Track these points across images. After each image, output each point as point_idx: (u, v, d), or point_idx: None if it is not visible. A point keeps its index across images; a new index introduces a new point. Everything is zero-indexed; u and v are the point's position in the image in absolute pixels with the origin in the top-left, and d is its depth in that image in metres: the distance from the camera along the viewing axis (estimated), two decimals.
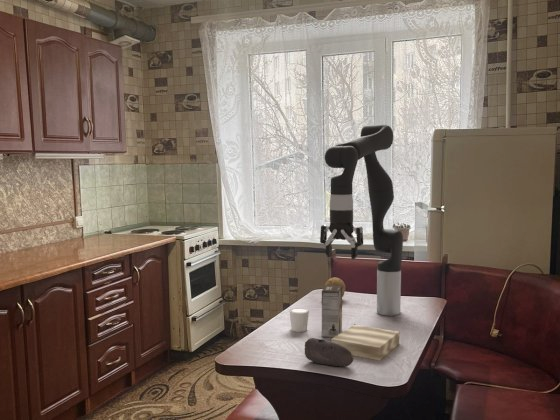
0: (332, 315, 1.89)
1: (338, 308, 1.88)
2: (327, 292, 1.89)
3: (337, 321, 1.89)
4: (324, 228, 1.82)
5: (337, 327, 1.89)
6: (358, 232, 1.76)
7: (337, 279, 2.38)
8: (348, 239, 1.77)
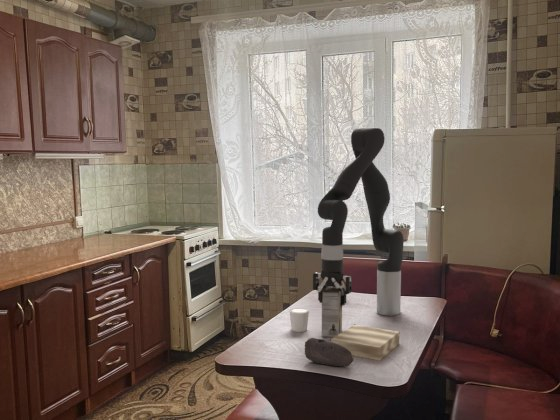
0: (332, 315, 1.89)
1: (338, 308, 1.88)
2: (327, 292, 1.89)
3: (337, 321, 1.89)
4: (316, 275, 1.95)
5: (337, 327, 1.89)
6: (347, 281, 1.88)
7: None
8: (338, 287, 1.90)
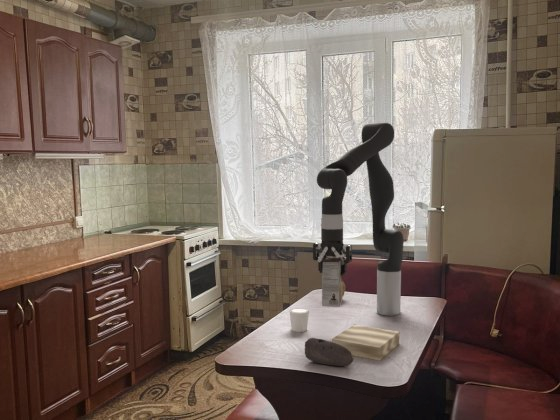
0: (332, 285, 1.88)
1: (338, 277, 1.88)
2: (327, 261, 1.88)
3: (337, 291, 1.88)
4: (316, 246, 1.94)
5: (337, 297, 1.88)
6: (347, 250, 1.87)
7: None
8: (338, 256, 1.89)
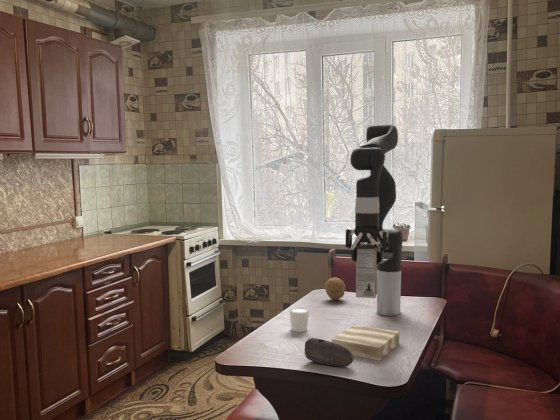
0: (367, 274, 1.73)
1: (374, 266, 1.72)
2: (362, 248, 1.72)
3: (373, 280, 1.72)
4: (349, 232, 1.78)
5: (373, 287, 1.73)
6: (384, 236, 1.72)
7: (337, 279, 2.38)
8: (374, 243, 1.73)
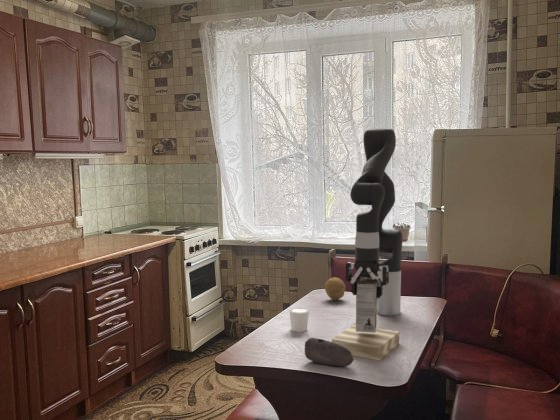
0: (367, 308, 1.73)
1: (374, 301, 1.73)
2: (362, 283, 1.73)
3: (373, 315, 1.73)
4: (349, 266, 1.79)
5: (373, 321, 1.74)
6: (384, 271, 1.73)
7: (337, 279, 2.38)
8: (374, 278, 1.74)
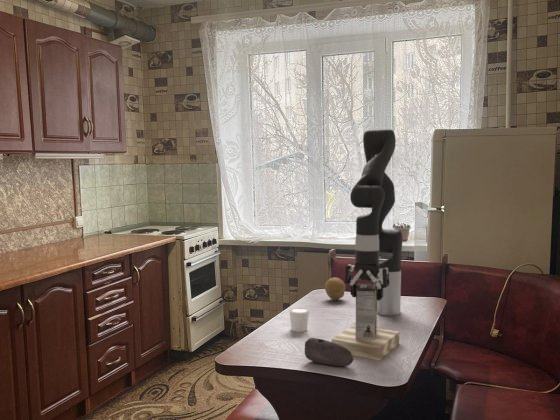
0: (367, 316, 1.74)
1: (374, 308, 1.73)
2: (362, 290, 1.73)
3: (373, 322, 1.74)
4: (349, 268, 1.79)
5: (373, 329, 1.74)
6: (384, 273, 1.73)
7: (337, 279, 2.38)
8: (374, 280, 1.74)
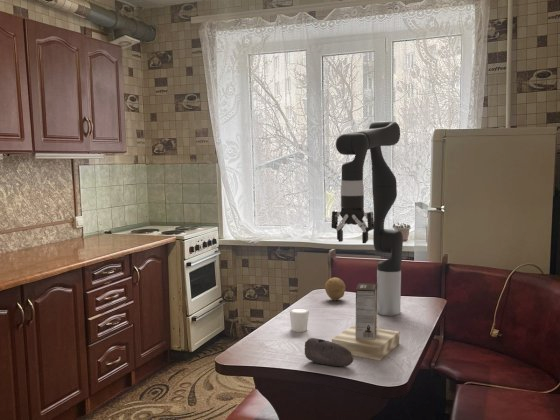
0: (367, 316, 1.74)
1: (374, 308, 1.73)
2: (362, 290, 1.73)
3: (373, 322, 1.74)
4: (335, 213, 1.87)
5: (373, 329, 1.74)
6: (369, 217, 1.81)
7: (337, 279, 2.38)
8: (359, 224, 1.82)
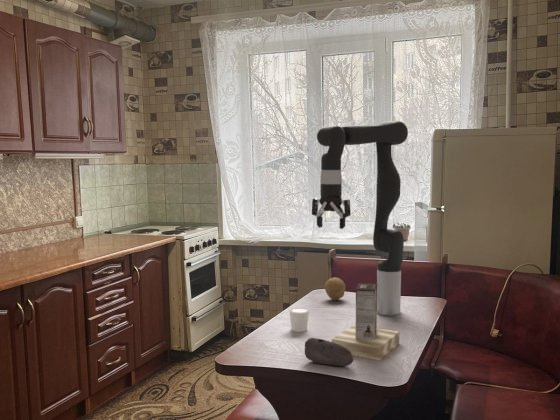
0: (367, 316, 1.74)
1: (374, 308, 1.73)
2: (362, 290, 1.73)
3: (373, 322, 1.74)
4: (315, 201, 2.00)
5: (373, 329, 1.74)
6: (346, 204, 1.94)
7: (337, 279, 2.38)
8: (337, 210, 1.95)
